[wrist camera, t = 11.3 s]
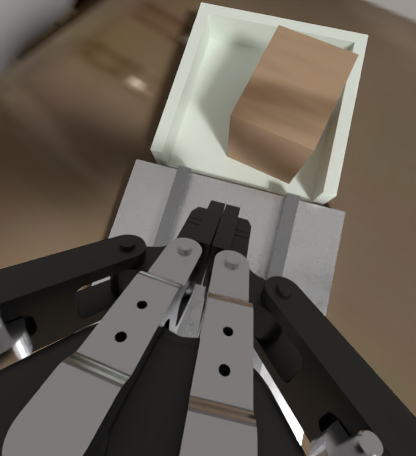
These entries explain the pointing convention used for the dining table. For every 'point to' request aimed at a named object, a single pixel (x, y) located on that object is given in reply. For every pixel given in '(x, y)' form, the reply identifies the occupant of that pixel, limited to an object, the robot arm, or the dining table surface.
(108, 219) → the dining table surface
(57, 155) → the dining table surface
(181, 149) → the tray
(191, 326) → the slot plate
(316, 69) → the block
